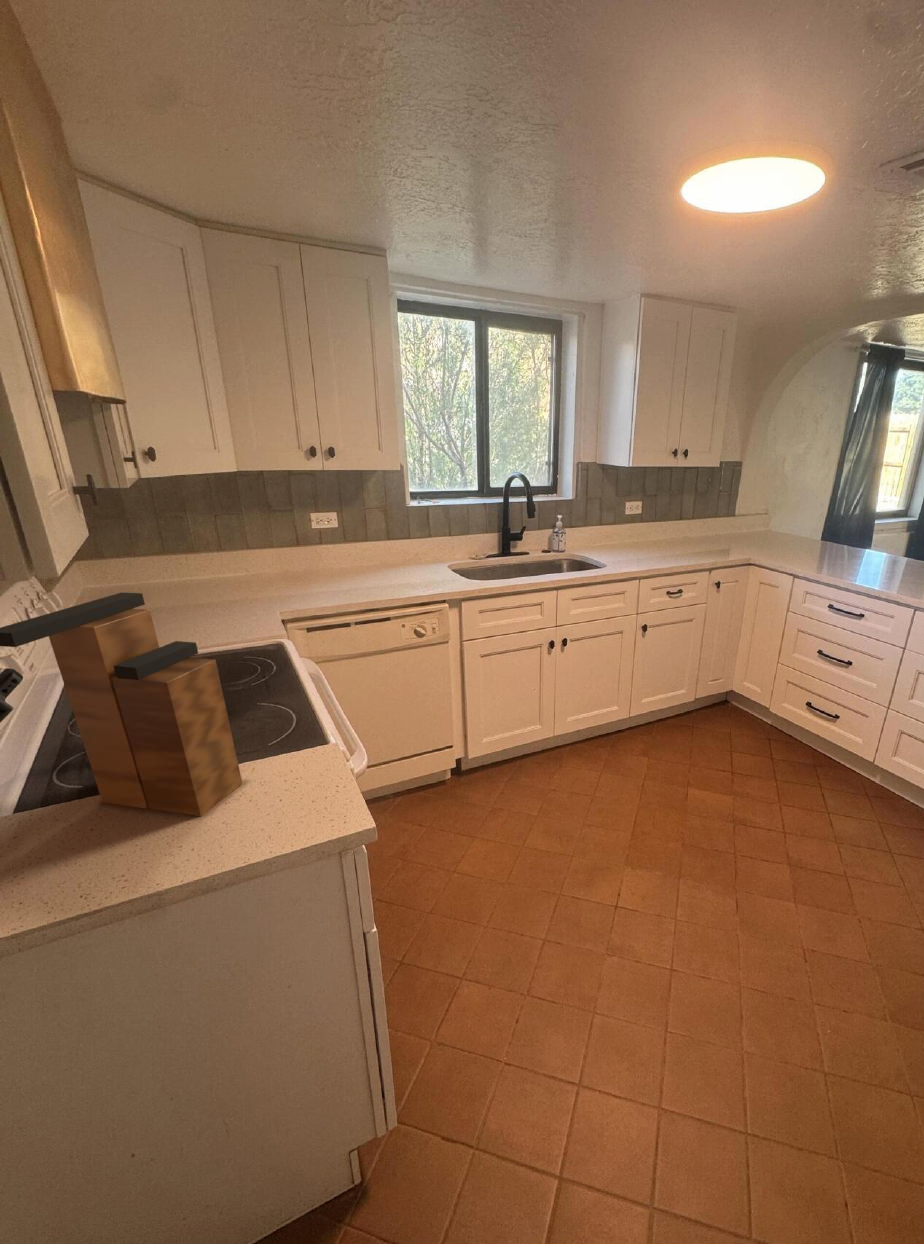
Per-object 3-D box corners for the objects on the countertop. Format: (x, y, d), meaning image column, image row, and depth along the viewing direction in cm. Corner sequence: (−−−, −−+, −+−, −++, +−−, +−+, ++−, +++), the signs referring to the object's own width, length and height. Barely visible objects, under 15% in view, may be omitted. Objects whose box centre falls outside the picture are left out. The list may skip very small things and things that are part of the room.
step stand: (201, 816, 94) (153, 631, 83) (102, 802, 97) (44, 624, 86) (242, 783, 103) (205, 613, 92) (151, 771, 107) (104, 606, 95)
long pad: (15, 647, 76) (10, 633, 76) (-11, 645, 77) (-16, 631, 76) (145, 604, 97) (142, 593, 96) (124, 603, 97) (121, 592, 96)
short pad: (138, 680, 86) (135, 667, 86) (116, 678, 87) (112, 665, 86) (198, 653, 97) (196, 642, 97) (178, 651, 98) (175, 640, 97)
